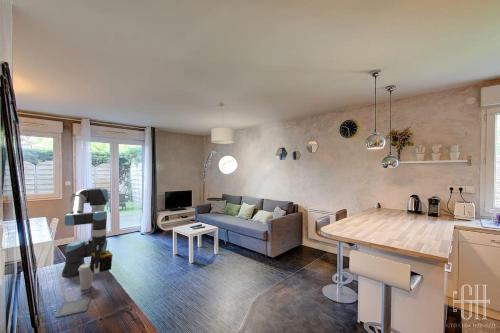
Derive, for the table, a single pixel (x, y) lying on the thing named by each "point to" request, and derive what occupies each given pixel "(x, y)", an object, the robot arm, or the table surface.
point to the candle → (102, 261)
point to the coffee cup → (85, 276)
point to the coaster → (73, 307)
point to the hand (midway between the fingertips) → (98, 268)
